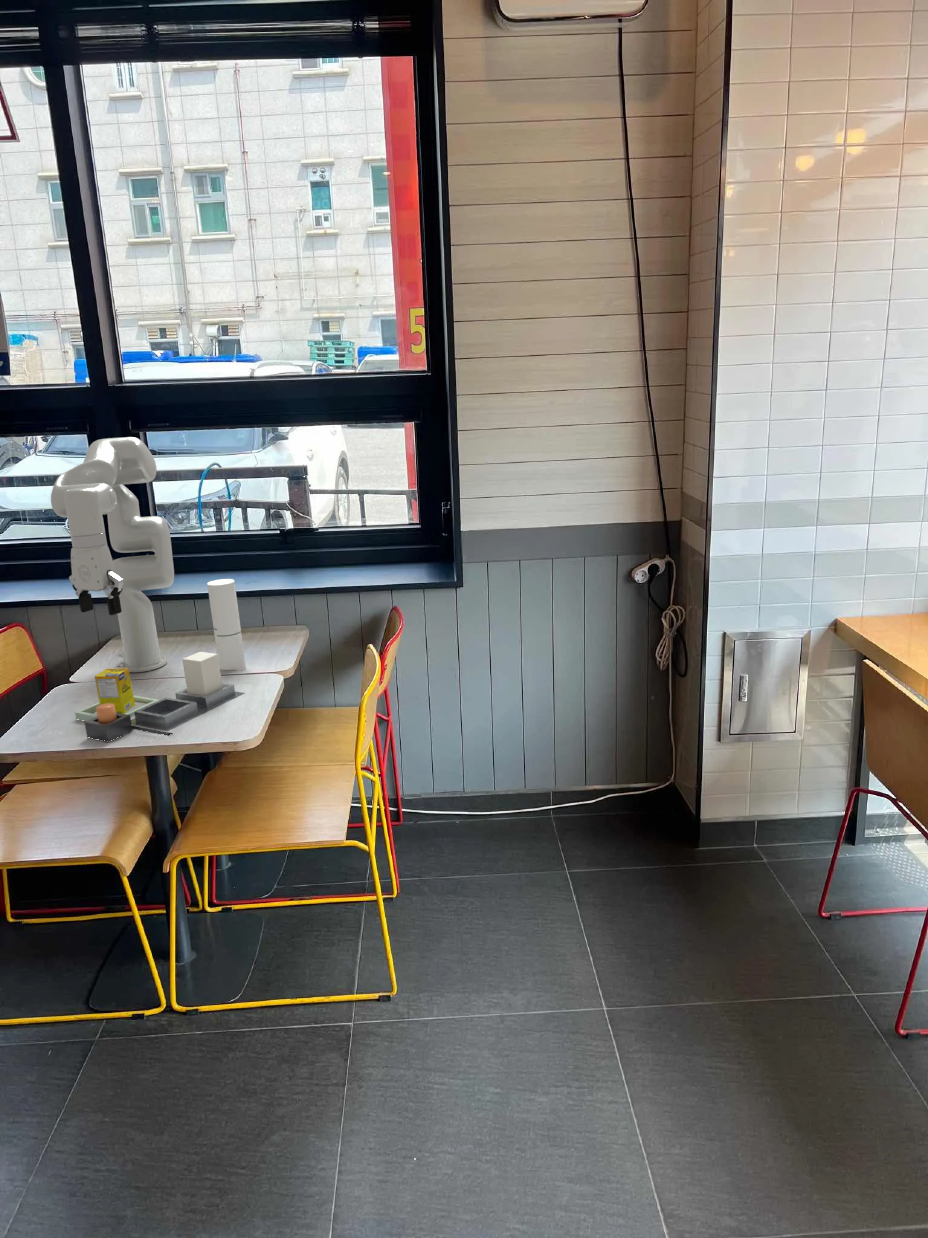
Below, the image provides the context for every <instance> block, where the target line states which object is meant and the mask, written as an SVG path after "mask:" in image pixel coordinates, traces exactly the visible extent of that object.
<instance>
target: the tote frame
mask: <svg viewBox="0 0 928 1238" xmlns="http://www.w3.org/2000/svg"><path fill="white" fill-rule="evenodd" d="M133 696H134V702H142V703H146V704H143V705H142V706H139V707H137V708H135V709H132V710H129V711H127V712H126V713H124V714H126V715H130V718H131V717H133V716H135V714H134V712H135V711H137V710H139V709H141V708H144V707H146V706H148V705H150V704H153V703H155V702H157V701H159V700H160V699H157V698H151V697H146V696H139V695H134V694H133ZM99 705H100V702H99V701H98V702H97V703H94V704H91V705H89V706H87V707H84V708H82V709H79V710H77V711H75V712H74V716H75V720H76V719H79V720H84V721H88V720H90V719H93V718H95V717H97V711H96V707H97V706H99Z"/></svg>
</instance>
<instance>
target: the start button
mask: <svg viewBox="0 0 928 1238" xmlns="http://www.w3.org/2000/svg"><path fill="white" fill-rule="evenodd" d="M96 711H97V712H96V714H97V717H98V722H101V723H109V722H111V721H113V720H115V719H117V716H116V711H115V705H114V704H113V703H106V704H102V705H99V706H97V707H96Z"/></svg>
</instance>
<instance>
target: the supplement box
mask: <svg viewBox="0 0 928 1238" xmlns="http://www.w3.org/2000/svg"><path fill="white" fill-rule="evenodd" d="M130 673H131V672H129V668H121V667H120V668H119V667H117V668H105V669H104V670H102V671H101V672H99V673H98V674H96V675H95V676H94V679H95V684H96V690H97V697H98V702H100V705H102V704H106V703H113V704H114V705H115V711H116V713H121V714H125V713H128V712H129V711H130V710H131V709H132V708H133V707H134V706H136V703H135V702H136V701H135V700H134V696H133V695H134V691H133V684H132V680H131V674H130Z"/></svg>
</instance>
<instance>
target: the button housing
mask: <svg viewBox="0 0 928 1238" xmlns="http://www.w3.org/2000/svg"><path fill="white" fill-rule="evenodd" d="M116 716H117V719H115V720H113V721H111V722H109V723H101V722H98V717H95V718H93V719H90V720H88V721H86V722H83V723H84V726H85V727H84V728H85V733H86V737H90V738H93V739H99V740H103V741H104V740H105V741H108V742H109V741H111V740H113V739H115V740H117V739H118V738H117V737H119V738H121V737H120V736H122V737H124V736H125V735H124V734H126V735H128V734H130V733H132V732H134V731H133V730H134V729H132V726H133V725H132V724H131V720H132V719H131V717H130V715H126V714H125V713H124V714H121V713H116ZM131 731H132V732H131ZM127 733H128V734H127ZM123 735H124V736H123ZM116 738H117V739H116ZM93 739H92V740H93ZM103 741H102V742H103ZM113 741H114V740H113ZM108 742H107V743H108ZM111 742H112V741H111ZM109 743H110V742H109Z"/></svg>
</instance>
